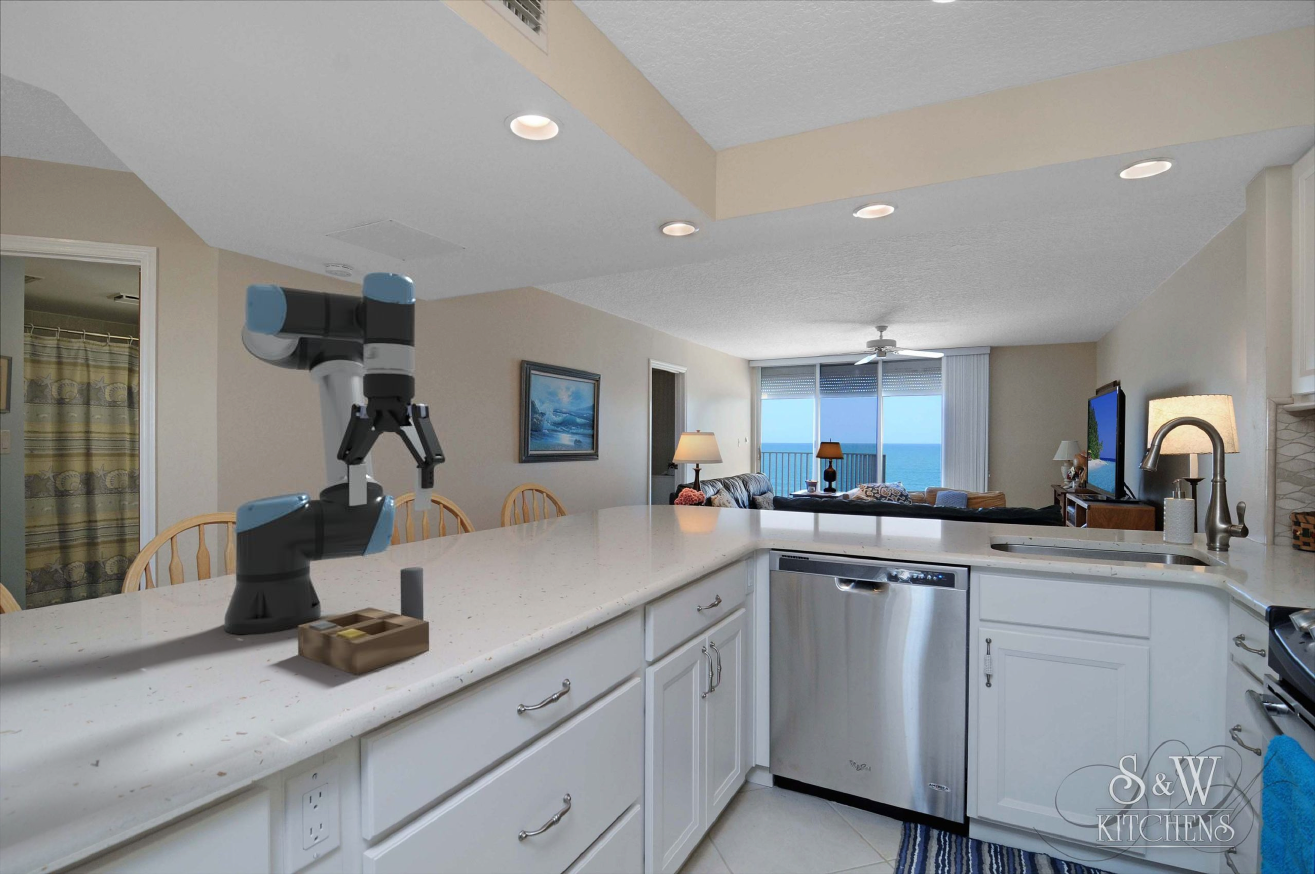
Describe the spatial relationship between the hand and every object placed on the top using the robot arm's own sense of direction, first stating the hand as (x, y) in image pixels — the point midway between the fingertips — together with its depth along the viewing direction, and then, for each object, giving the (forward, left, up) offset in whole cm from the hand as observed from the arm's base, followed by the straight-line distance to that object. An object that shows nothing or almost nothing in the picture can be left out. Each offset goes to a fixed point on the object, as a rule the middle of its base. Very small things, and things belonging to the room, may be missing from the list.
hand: (389, 507), depth 98 cm
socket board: (-3, -3, -23) cm, 23 cm away
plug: (-9, +10, -23) cm, 26 cm away
